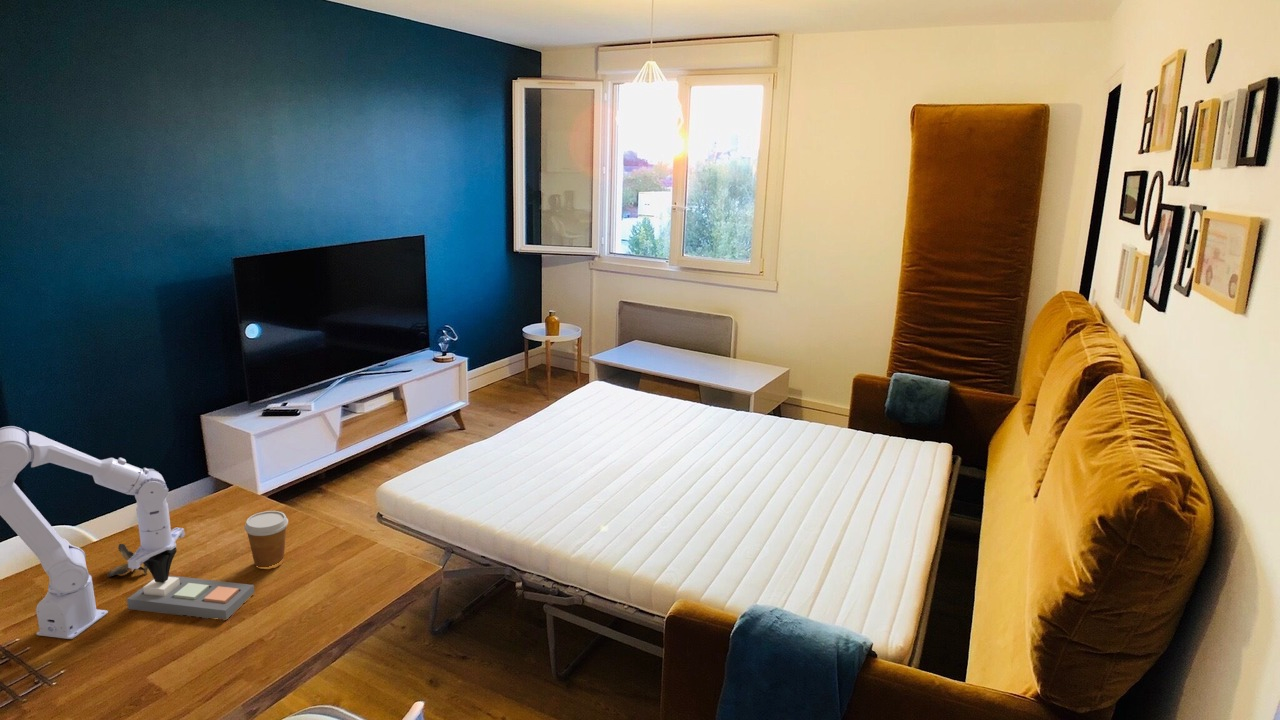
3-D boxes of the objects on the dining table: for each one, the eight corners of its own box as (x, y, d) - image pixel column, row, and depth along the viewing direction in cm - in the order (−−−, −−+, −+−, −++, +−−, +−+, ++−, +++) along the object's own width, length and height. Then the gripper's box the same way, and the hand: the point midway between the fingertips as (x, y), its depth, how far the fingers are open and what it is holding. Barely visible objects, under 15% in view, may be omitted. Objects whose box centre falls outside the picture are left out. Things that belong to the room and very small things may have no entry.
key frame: (226, 620, 158) (225, 610, 158) (128, 609, 160) (126, 598, 159) (254, 594, 168) (253, 585, 167) (161, 583, 170) (160, 574, 169)
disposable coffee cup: (239, 565, 179) (235, 521, 176) (274, 549, 187) (271, 506, 184) (264, 578, 175) (261, 532, 171) (299, 560, 183) (296, 516, 180)
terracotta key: (225, 611, 161) (224, 600, 160) (205, 608, 161) (203, 598, 160) (239, 598, 165) (238, 588, 165) (219, 596, 166) (218, 586, 165)
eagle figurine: (161, 557, 178) (122, 550, 177) (153, 544, 173) (113, 536, 172) (144, 587, 173) (103, 579, 172) (136, 574, 168) (94, 566, 167)
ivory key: (165, 600, 162) (163, 589, 161) (144, 597, 162) (143, 587, 161) (180, 587, 166) (179, 577, 166) (160, 585, 167) (159, 575, 166)
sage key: (195, 607, 161) (194, 597, 161) (174, 605, 162) (173, 594, 161) (209, 595, 166) (208, 585, 165) (189, 592, 166) (188, 582, 166)
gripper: (147, 543, 152) (154, 601, 156) (194, 512, 166) (200, 565, 170) (115, 540, 153) (123, 597, 157) (165, 508, 167) (171, 562, 171)
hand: (161, 580), depth 163 cm, fingers closed
